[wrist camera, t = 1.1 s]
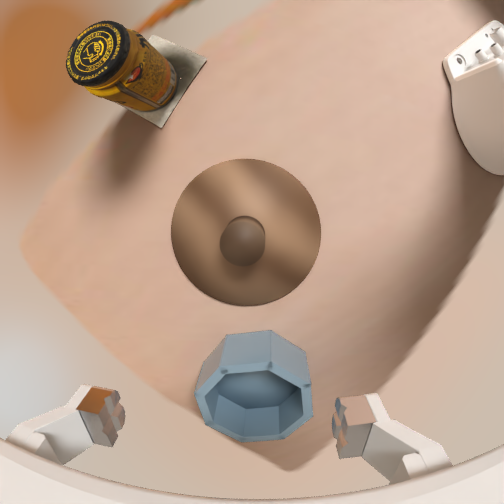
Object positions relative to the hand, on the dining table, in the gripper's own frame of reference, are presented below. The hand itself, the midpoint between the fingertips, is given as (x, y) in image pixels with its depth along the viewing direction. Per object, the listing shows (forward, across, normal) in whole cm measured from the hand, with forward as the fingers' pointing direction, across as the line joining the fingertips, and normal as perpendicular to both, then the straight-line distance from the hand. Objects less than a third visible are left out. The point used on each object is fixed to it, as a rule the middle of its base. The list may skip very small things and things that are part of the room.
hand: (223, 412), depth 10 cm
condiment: (+22, +9, -19) cm, 30 cm away
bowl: (+23, -1, +15) cm, 27 cm away
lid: (+22, 0, -2) cm, 23 cm away
